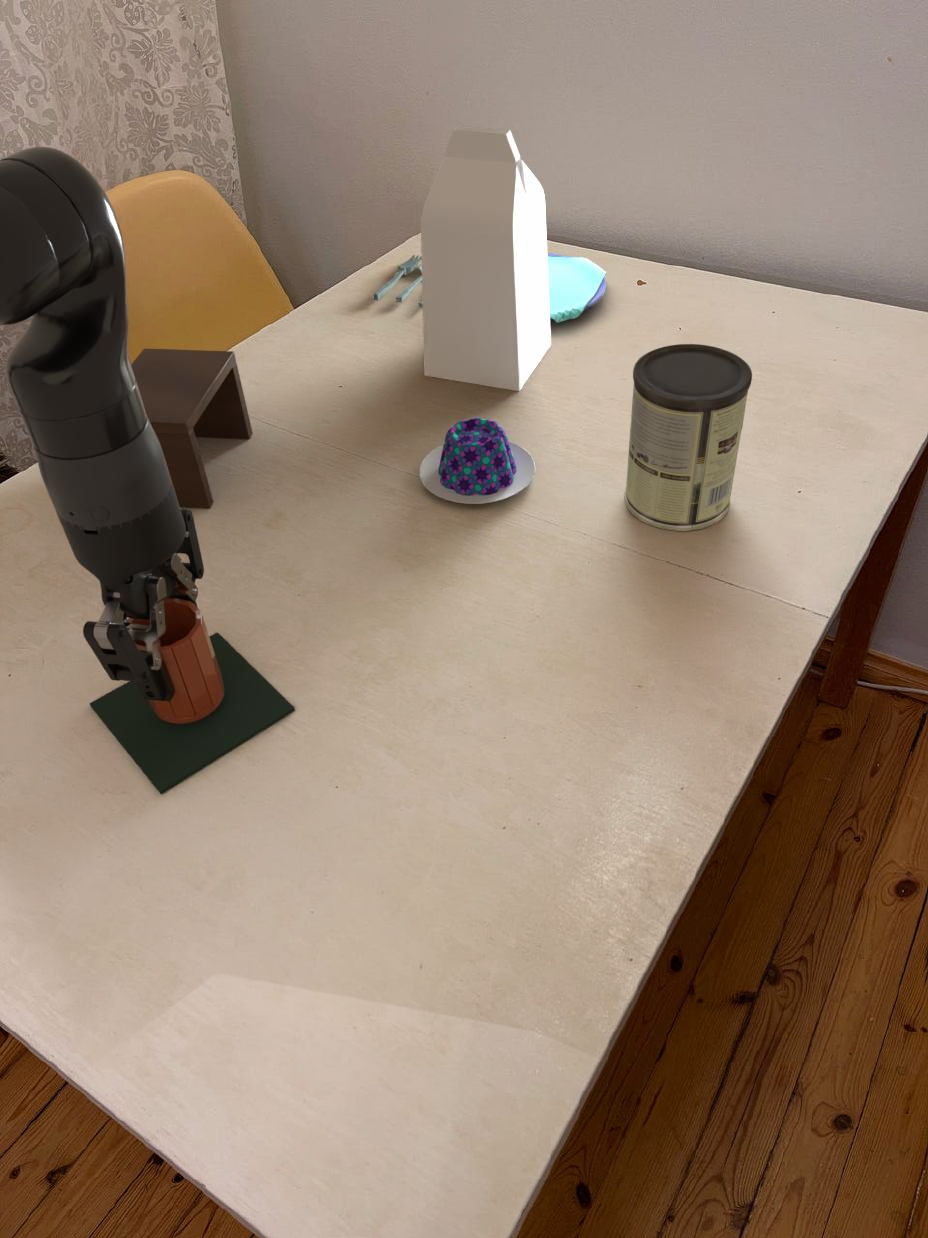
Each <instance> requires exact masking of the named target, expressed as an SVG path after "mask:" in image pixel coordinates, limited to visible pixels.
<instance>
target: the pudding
mask: <svg viewBox="0 0 928 1238" xmlns="http://www.w3.org/2000/svg"><path fill="white" fill-rule="evenodd" d="M536 468H537V466H536V462H535V460H534V458H533V456H532V455H531V453H530V452H529V451H528V450H527V449H525V448H524V447H522V446H521V445H520V444H517V443H516V442H513V441H510V440H509V438H508V435H507V432H506V431H505V430H504V428H503V427H502V426H500V425H499V423H498V422H497V421H495V420H493V419H489V418H488V419H484V418H481V417H471V418H469V419H461V420H459V421H458V422H456V423H454V425H453V426H452V427H449V429H448V430H447V431H446V433H445V436H444V442H443V444H441V445H439V446H437V447H435V448H434V449H432V450H431V451H430V452H428V453H427V455H425V456H424V458H423V459H422V461H421V463H420V465H419V469H418V476H419V479H420V482H421V484H422V485H423V487H425V489H426V490H428V491H429V492H430V493H432V494H433V495H435V496H436V497H438V498H441V499H443V500H446V501H450V502H453V503H459V504H468V505H480V504H490V503H495V502H499V501H502V500H506V499H509V498H511V497H513V496H515V495H517V494H519V493H520V492H522V491H524V489H525V488H527V487H528V486H529V485H530V483H531V482H532V481H533V479H534V477H535V475H536Z"/></svg>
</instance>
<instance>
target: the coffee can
mask: <svg viewBox="0 0 928 1238" xmlns="http://www.w3.org/2000/svg"><path fill="white" fill-rule="evenodd" d="M632 380H633V385H632V386H633V388H632V403H631V415H630V429H629V441H628V456H627V469H626V472H627V473H626V484H625V491H624V503H625V506H626V507H627V509H628V511H629V512H630V514H632V515H633V516H634V517H636V518H637V519H638V520H639V521H641V523H644V524H647V525H649V526H651V527H655V528H658V529H662V530H665V531H674V532H675V531H676V532H689V531H690V532H691V531H699V530H701V529H706V528H708V527H710V526H713V525H715V524H716V523H718V522H719V521H721V520H722V519H724V517H725V516H726V514H727V513H728V512H729V510H730V506H731V495H732V490H733V482H734V477H735V472H736V471H735V470H736V466H737V460H738V459H737V458H738V453H739V447H740V443H741V442H740V441H741V436H742V435H741V434H742V431H743V426H744V419H745V413H746V412H745V411H746V405H747V400H748V393H749V389H750V387H751V384H752V381H753V371H752V369H751V367H750V365H749V364H748V363H747V362H746V360H745V359H743V358H741V356H738V355H737V354H735V353H733V352H731V351H729V350H726V349H723V348H721V347H717V346H712V345H706V344H698V343H680V344H679V343H678V344H677V343H676V344H671V345H666V346H665V345H664V346H661V347H658V348H655V349H651V350H650V351H648V352H646V353H645V354H643V355H642V356H640V357H639V358H638V359H637V361H636V362H635V363H634V366H633V369H632Z"/></svg>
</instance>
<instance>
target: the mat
mask: <svg viewBox="0 0 928 1238" xmlns="http://www.w3.org/2000/svg"><path fill="white" fill-rule="evenodd" d="M209 637H210V641H211V644H212V647H213V650H214V653H215V656H216V659H217V663H218V666H219V669H220V672H221V675H222V678H223V685H224V696H223V699H222V701H221V703H220V704H219V706H218V707H217V708H216V709H215V710H214V711H213V712H212V713H210V714H209V715H207V716H206V717H204V718H202V719H200V720H197V721H194V722H190V723H184V724H176V723H170V722H166V721H164V720H162V719H161V718H159V717H158V716H157V715H156V714H155V712H154V710H153V708H152V707H151V705H150V703H149V701H148V700H146V699H144V698H143V697H142V694H141V691H140V689H139V687H138V684H137V682H134V681H126V682H125V683H123V684H121V685H120V686H118V687H116V688H115V689H112V690H110V691H109V692H107V693H106V694H103V695H101V696H100V697H98V698H96V699H95V700H93V701H91V702H90V703H89V706H90V708H91V709H92V710H93V711H94V713H95V714H96V715H97V716H98V718H99V719H100V720H101V721H102V723H103V724H104V726H105V727H106V729H108V730H109V732H110V733H111V734H112V736H114V738H115V739H116V740H117V741H118V743H119V744H120V745H121V746H122V748H123V749H124V750H125V751H126V752H127V754H128V755H129V756H130V758H131V759H132V760H133V762H134V763H135V764H136V765H137V766H138V768H139V769H140V770H141V771H142V773H143V774H144V775H145V777H146V778H147V779H148V780H149V781H150V783H151V785H153V786H154V788H155V789H156V791H158V793H159V794H160V795H163V794H164V793H166V792H168V791H169V790H171V789H173V788H174V787H175V786H177V785H179V784H180V783H182V782H184V781H185V780H187V779H188V778H190V777H193V775H195V774H196V773H198V772H200V771H202V770H203V769H205V768H206V767H208V766H210V765H211V764H212V763H214V762H215V761H217V760H219V759H220V758H222V757H224V756H225V755H227V754H228V753H230V752H232V751H233V750H235V749H237V748H238V747H240V746H241V745H243V744H244V743H246V742H247V741H249V740H251V739H252V738H254V737H256V736H257V735H259V734H261V733H262V732H264V731H265V730H267V729H268V728H270V727H272V726H273V725H275V724H276V723H278V722H280V721H281V720H283V719H284V718H287V717H288V716H289V715H291V714H292V713H294V712H296V708H295V706H294V705H293V704H291V703H290V701H288V699H286V698H285V696H284V695H282V694H281V693H280V692H279V691H278V690H277V689H276V688H275V687H274V685H272V684H271V683H270V682H269V681H268V680H267V679H266V678H265V677H264V676H263V675H262V673H260V672H259V671H258V670H257V669H256V668H255V667H254V666H253V665H252V664H251V663H250V662H249V661H248V660H246V658H245V657H244V656H242V654H240V652H238V651H237V650H236V648H235V647H233V646H232V644H231V643H230V642H228V640H227V639H225V638H224V637H223V636H222V635H221V634H220V633H219V632H218V631H217V632H215V633H213V634H211V635H209Z"/></svg>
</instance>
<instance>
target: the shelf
mask: <svg viewBox="0 0 928 1238" xmlns="http://www.w3.org/2000/svg"><path fill="white" fill-rule="evenodd" d="M131 366H132V369H133V372H134V375H135V379H136V382H137V385H138V388H139V391H140V395H141V398H142V401H143V404H144V407H145V411H146V414H147V416H148V419H149V421H150V424H151V426H152V428H153V430H154V432H155V434H156V436H157V438H158V440H159V442H160V445H161V448H162V451H163V454H164V457H165V460H166V464H167V467H168V470H169V473H170V477H171V480H172V483H173V486H174V490H175V493H176V496H177V500H178V503H179V506H180V508H185V509H202V510H203V509H206V510H210V509H211V508H212V506H213V504H214V499H213V495H212V491H211V487H210V484H209V480H208V477H207V473H206V468H205V466H204V462H203V459H202V455H201V451H200V447H199V444H198V441H197V438H213V439H235V440H236V439H237V440H250V439H251V437H252V436H253V434H254V433H253V429H252V424H251V420H250V415H249V411H248V407H247V402H246V397H245V393H244V390H243V385H242V381H241V375H240V372H239V366H238V363H237V359H236V355H235V351H229V350H203V349H201V350H199V349H176V348H175V349H172V348H171V349H170V348H167V349H166V348H146V347H145V348H143V349H142V351H141V352H140V353H139V354H138V355H137V356H136V358H135V359H134V360H133V362H132V363H131Z"/></svg>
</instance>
